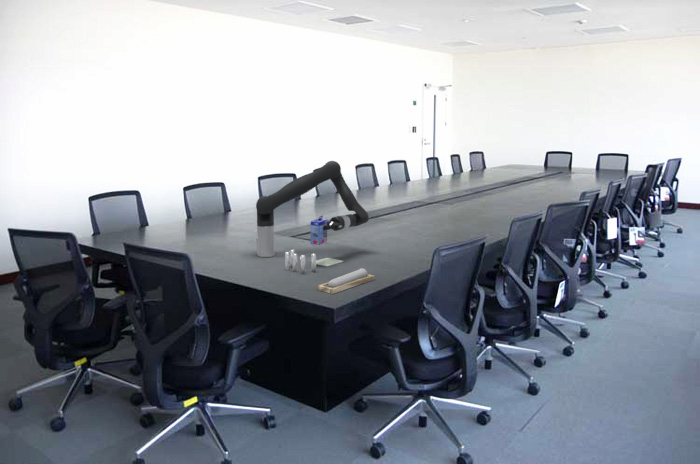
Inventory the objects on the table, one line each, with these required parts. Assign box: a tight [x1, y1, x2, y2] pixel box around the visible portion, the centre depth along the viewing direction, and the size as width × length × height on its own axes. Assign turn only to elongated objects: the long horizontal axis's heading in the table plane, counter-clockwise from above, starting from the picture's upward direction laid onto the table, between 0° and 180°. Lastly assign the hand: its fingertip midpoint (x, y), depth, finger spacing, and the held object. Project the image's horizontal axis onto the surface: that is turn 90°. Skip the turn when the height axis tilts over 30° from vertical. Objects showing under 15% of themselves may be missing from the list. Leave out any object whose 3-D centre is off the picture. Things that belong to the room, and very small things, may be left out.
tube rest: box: [316, 273, 375, 295], centre depth 251 cm, size 9×29×2 cm, turn 140°
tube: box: [328, 267, 368, 288], centre depth 251 cm, size 5×5×25 cm
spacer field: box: [284, 248, 317, 275], centre depth 276 cm, size 17×8×9 cm, turn 50°
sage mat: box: [316, 257, 344, 267], centre depth 292 cm, size 12×13×1 cm
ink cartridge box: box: [310, 215, 328, 246], centre depth 283 cm, size 10×6×14 cm, turn 158°
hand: (318, 227), depth 284 cm, fingers closed on ink cartridge box, 6 cm apart
